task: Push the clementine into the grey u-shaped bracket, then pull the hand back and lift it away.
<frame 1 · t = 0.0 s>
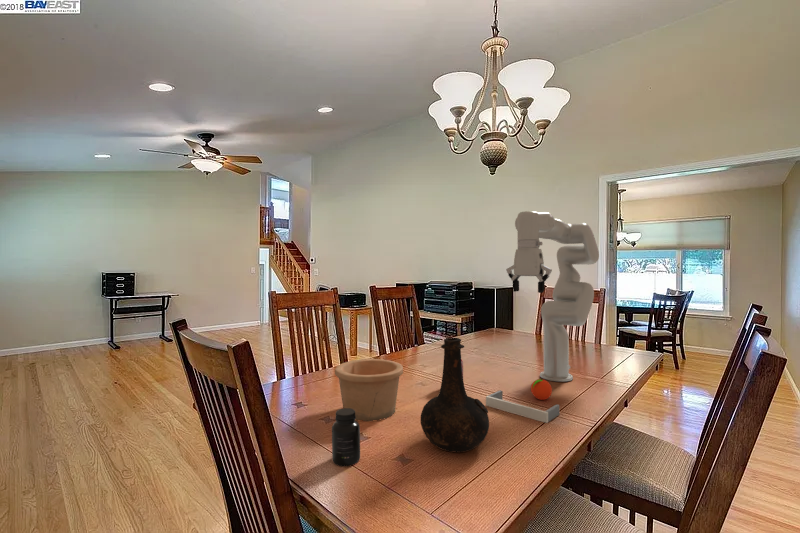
hand: (528, 291, 148), 37 cm above the table, tool pointing down, fingers open, 9 cm apart
pottery: (369, 411, 130), on the table
glass bottle: (454, 445, 106), on the table
grey u-shaped bracket: (523, 408, 131), on the table
soda can: (453, 389, 152), on the table
supplement bottle: (346, 460, 98), on the table
clementine: (540, 400, 140), on the table
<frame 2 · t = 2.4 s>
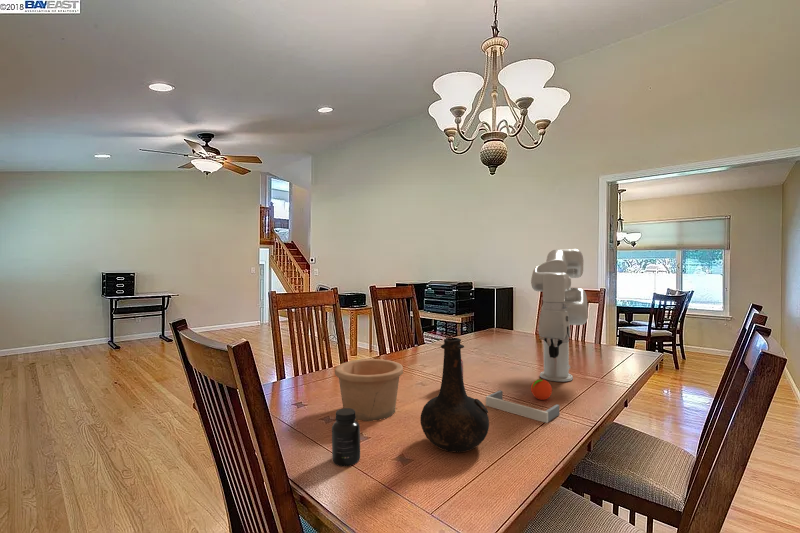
hand: (553, 357, 147), 13 cm above the table, tool pointing down, fingers closed
nothing on the table moved.
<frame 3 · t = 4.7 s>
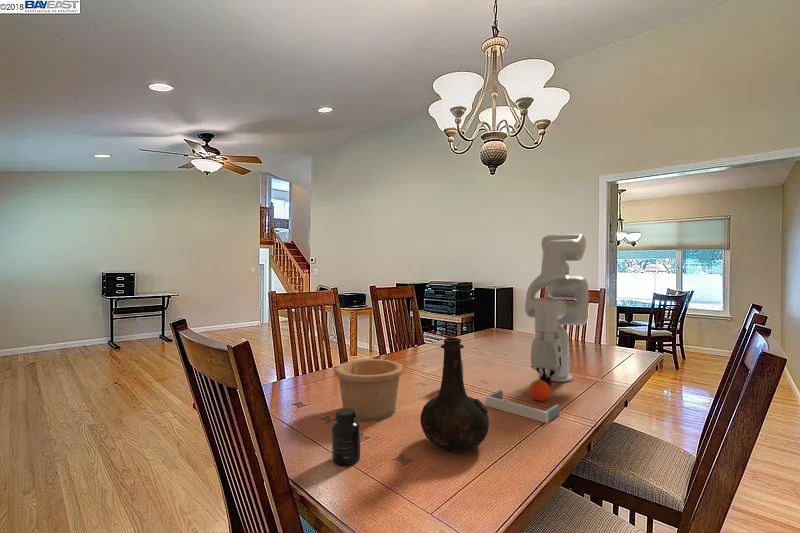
hand: (546, 387, 143), 3 cm above the table, tool pointing down, fingers closed
clementine: (538, 400, 139), on the table, touching gripper
everything else where it was.
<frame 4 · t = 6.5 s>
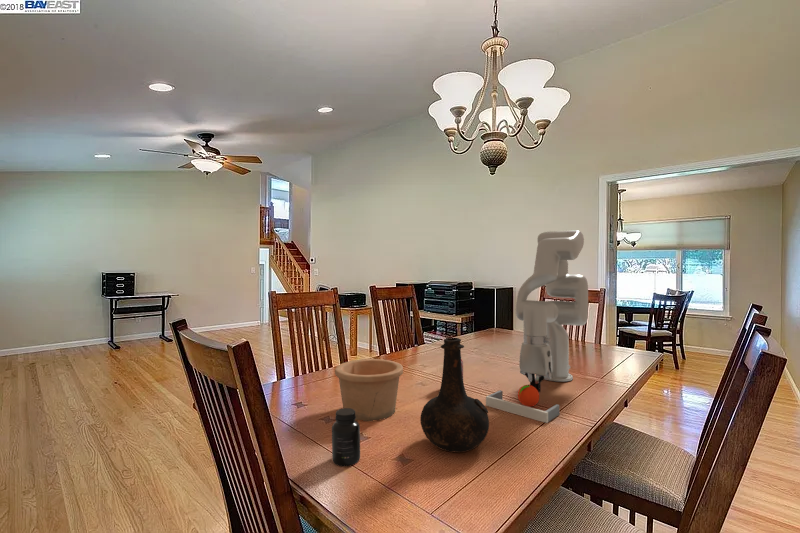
hand: (535, 393, 137), 3 cm above the table, tool pointing down, fingers closed
clementine: (527, 407, 133), on the table, touching gripper
everything else where it was.
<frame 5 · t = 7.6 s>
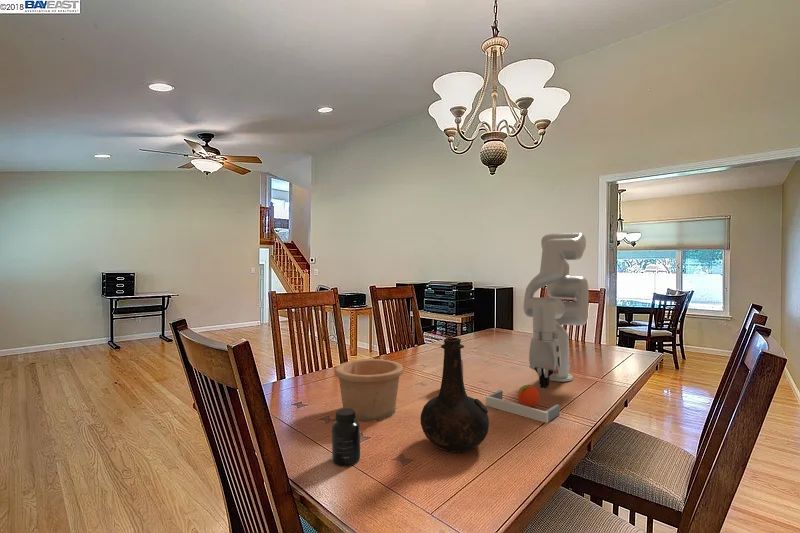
hand: (544, 387, 142), 3 cm above the table, tool pointing down, fingers closed
clementine: (527, 407, 133), on the table
everything else where it was.
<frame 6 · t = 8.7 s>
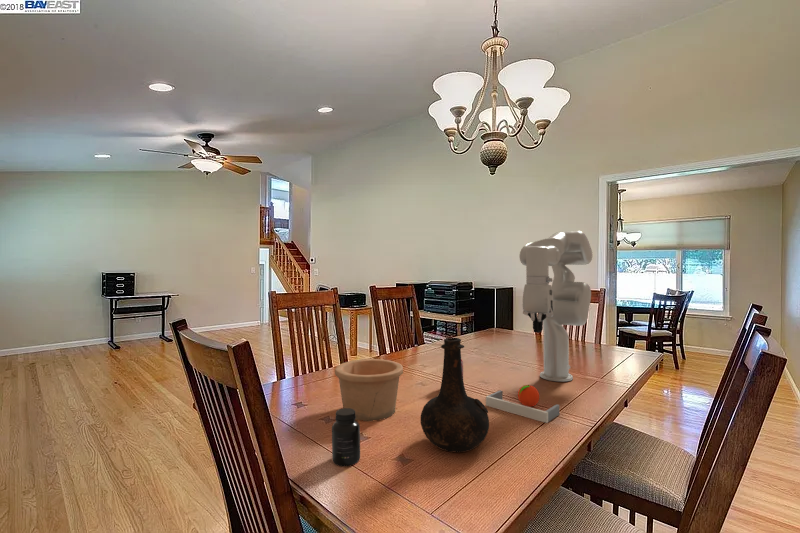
hand: (537, 331, 144), 23 cm above the table, tool pointing down, fingers closed
nothing on the table moved.
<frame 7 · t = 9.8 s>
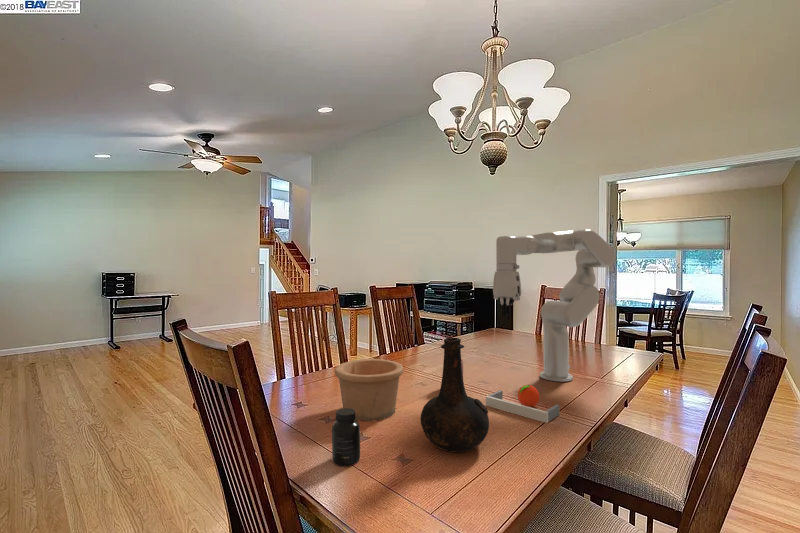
hand: (506, 315, 156), 27 cm above the table, tool pointing down, fingers closed
nothing on the table moved.
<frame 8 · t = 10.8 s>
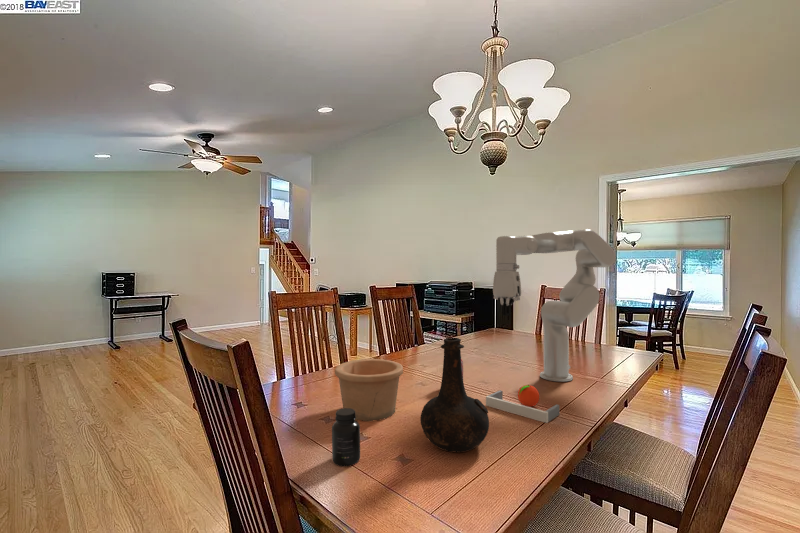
hand: (506, 315, 156), 27 cm above the table, tool pointing down, fingers closed
nothing on the table moved.
at the end: clementine inside the target area on the grey u-shaped bracket (3.0 cm from its centre), point 0.0 cm above the grey u-shaped bracket's base; clementine moved 9.3 cm from its start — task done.
